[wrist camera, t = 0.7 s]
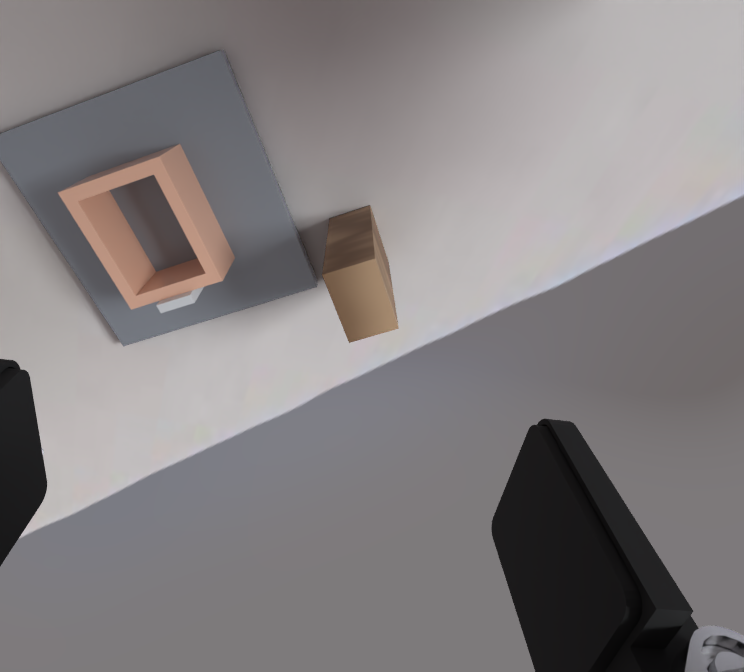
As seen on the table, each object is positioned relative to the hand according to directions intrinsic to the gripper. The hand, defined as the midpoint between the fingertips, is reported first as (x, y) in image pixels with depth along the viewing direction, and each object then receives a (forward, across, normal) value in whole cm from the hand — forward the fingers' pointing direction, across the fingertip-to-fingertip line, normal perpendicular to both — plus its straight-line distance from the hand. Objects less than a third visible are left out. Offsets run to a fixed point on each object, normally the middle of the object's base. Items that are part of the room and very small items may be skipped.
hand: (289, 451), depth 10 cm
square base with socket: (+29, +10, +5) cm, 31 cm away
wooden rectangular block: (+28, -3, +5) cm, 29 cm away
